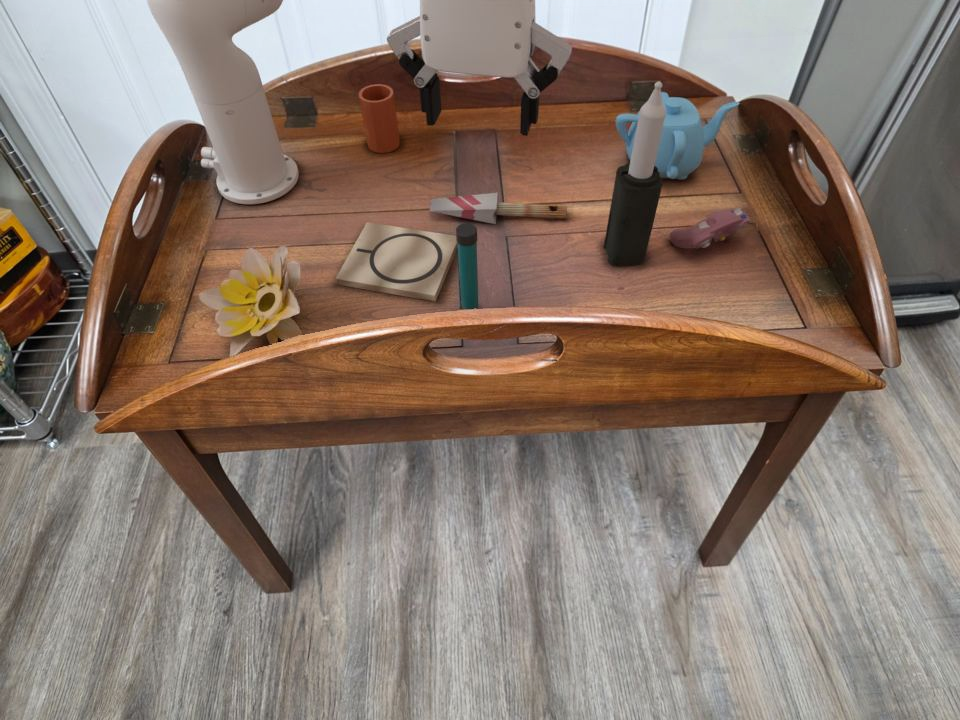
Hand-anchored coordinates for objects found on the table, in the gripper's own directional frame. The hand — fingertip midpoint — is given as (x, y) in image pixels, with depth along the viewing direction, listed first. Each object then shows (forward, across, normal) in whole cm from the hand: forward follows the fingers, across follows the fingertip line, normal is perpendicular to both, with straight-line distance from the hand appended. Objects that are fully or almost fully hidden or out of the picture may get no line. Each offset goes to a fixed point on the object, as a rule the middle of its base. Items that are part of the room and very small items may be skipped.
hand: (479, 123), depth 66 cm
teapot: (+26, -22, -34) cm, 48 cm away
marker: (+25, +1, +3) cm, 26 cm away
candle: (+26, -17, -12) cm, 33 cm away
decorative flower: (+25, +27, +10) cm, 39 cm away
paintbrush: (+26, +2, -17) cm, 31 cm away
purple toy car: (+26, -28, -17) cm, 42 cm away
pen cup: (+25, +24, -31) cm, 47 cm away
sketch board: (+25, +13, -4) cm, 29 cm away
